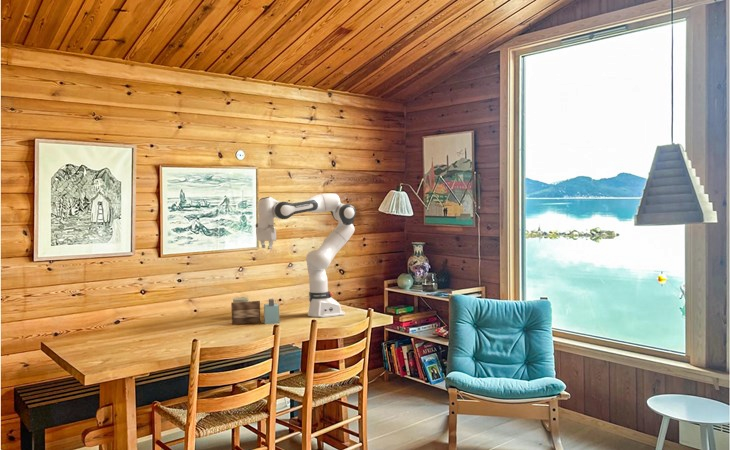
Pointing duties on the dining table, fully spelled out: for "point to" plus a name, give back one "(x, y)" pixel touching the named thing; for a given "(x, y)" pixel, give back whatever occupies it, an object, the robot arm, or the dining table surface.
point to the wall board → (245, 312)
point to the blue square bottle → (271, 312)
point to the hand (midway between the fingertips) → (266, 248)
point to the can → (240, 299)
